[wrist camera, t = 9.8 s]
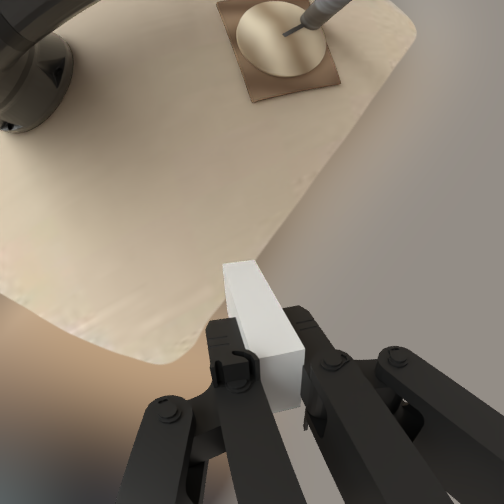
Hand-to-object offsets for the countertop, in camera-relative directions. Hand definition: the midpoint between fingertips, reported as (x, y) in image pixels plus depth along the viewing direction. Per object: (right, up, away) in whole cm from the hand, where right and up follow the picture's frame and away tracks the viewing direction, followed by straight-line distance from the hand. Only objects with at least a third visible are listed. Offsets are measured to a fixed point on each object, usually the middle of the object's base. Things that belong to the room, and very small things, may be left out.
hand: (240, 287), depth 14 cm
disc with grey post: (+5, +30, +17) cm, 35 cm away
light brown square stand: (+4, +30, +18) cm, 35 cm away
